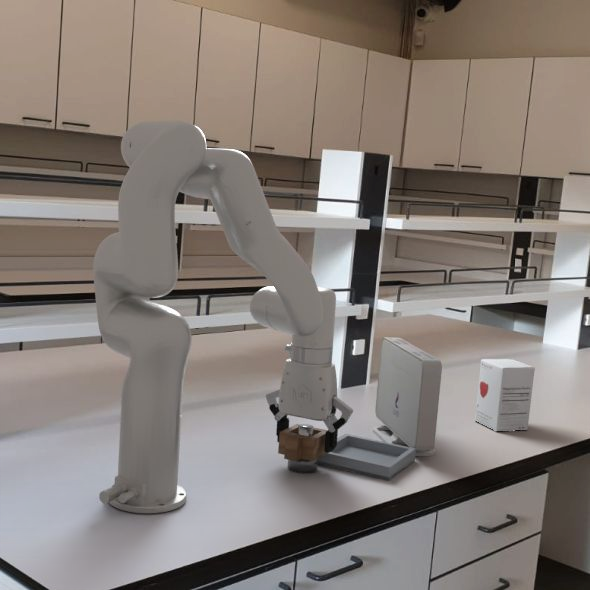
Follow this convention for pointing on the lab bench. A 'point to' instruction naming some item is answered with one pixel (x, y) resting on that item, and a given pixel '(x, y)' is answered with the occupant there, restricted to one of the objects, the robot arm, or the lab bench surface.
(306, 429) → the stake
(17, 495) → the lab bench surface
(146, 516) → the lab bench surface
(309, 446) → the collar
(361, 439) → the tray
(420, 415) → the network device
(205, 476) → the lab bench surface
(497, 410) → the supplement box
